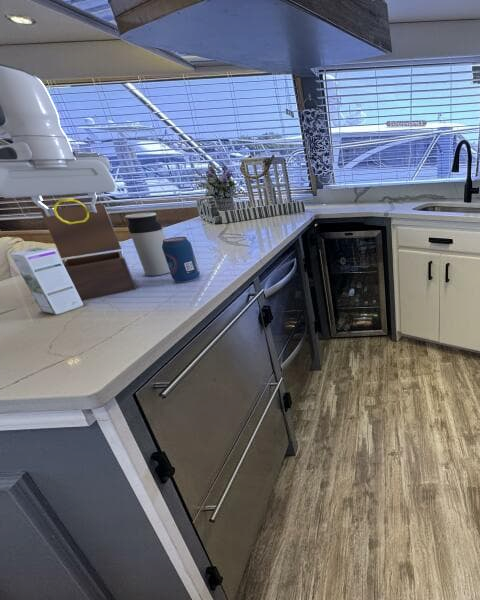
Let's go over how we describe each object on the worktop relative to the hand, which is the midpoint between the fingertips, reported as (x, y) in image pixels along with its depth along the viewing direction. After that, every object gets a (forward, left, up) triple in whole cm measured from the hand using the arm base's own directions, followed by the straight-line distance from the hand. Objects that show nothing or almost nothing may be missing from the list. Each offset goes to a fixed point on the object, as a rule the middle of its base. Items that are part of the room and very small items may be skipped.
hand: (72, 214), depth 78 cm
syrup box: (-8, -6, -21) cm, 23 cm away
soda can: (+18, -4, -21) cm, 28 cm away
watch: (0, 0, -2) cm, 2 cm away
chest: (0, +4, -21) cm, 21 cm away
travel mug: (+13, +11, -21) cm, 27 cm away
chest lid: (0, +10, -5) cm, 11 cm away
